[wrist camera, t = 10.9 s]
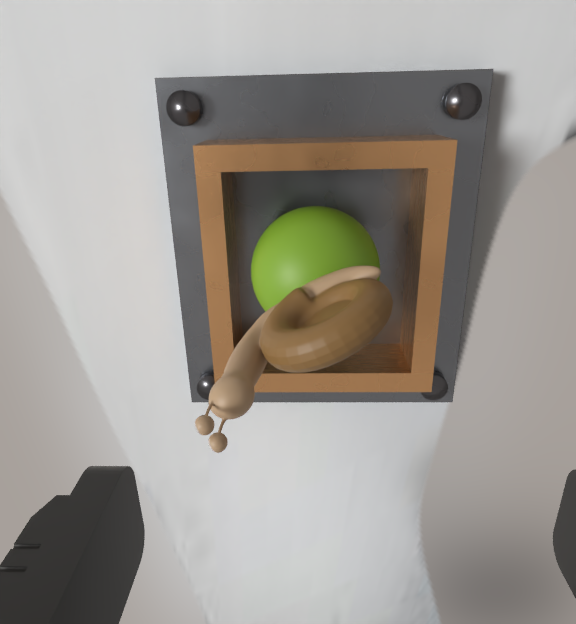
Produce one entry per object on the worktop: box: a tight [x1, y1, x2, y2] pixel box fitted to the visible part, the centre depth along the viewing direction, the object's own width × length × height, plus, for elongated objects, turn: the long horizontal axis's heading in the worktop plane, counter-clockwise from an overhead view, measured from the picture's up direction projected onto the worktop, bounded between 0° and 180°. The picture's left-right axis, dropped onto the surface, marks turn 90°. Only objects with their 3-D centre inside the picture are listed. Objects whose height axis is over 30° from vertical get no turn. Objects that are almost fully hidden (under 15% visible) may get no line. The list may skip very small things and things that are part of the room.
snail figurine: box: [195, 206, 393, 453], centre depth 18 cm, size 5×6×12 cm
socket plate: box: [155, 69, 493, 402], centre depth 23 cm, size 16×14×4 cm
